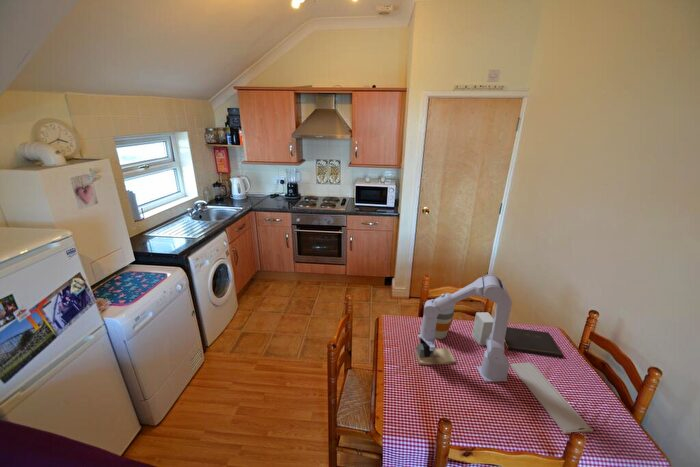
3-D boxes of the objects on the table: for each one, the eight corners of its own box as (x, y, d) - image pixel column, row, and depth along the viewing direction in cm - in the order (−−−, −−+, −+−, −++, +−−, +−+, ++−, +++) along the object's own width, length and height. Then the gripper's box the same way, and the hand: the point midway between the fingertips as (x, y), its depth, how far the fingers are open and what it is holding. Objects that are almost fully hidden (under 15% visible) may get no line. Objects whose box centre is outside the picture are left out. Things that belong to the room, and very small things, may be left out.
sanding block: (429, 352, 135) (431, 343, 133) (432, 358, 131) (434, 349, 129) (416, 352, 134) (417, 343, 132) (419, 359, 130) (420, 349, 129)
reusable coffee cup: (420, 325, 154) (423, 300, 149) (444, 324, 156) (447, 299, 151) (429, 342, 143) (433, 315, 138) (454, 340, 144) (459, 314, 139)
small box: (492, 345, 142) (497, 322, 137) (479, 345, 141) (484, 322, 137) (483, 334, 149) (488, 311, 145) (471, 334, 149) (475, 312, 144)
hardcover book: (498, 329, 154) (499, 325, 153) (547, 336, 150) (548, 332, 149) (507, 351, 139) (508, 347, 138) (562, 359, 135) (563, 355, 134)
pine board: (448, 350, 138) (448, 348, 137) (455, 363, 130) (455, 361, 130) (414, 351, 136) (414, 349, 136) (419, 364, 129) (419, 362, 129)
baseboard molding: (534, 364, 132) (509, 366, 130) (536, 359, 131) (510, 361, 129) (596, 432, 103) (564, 435, 101) (599, 426, 102) (566, 429, 100)
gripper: (414, 316, 134) (412, 341, 138) (424, 338, 120) (421, 365, 125) (430, 316, 134) (426, 341, 139) (441, 338, 121) (437, 364, 125)
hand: (425, 352), depth 132 cm, fingers closed on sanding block, 4 cm apart
